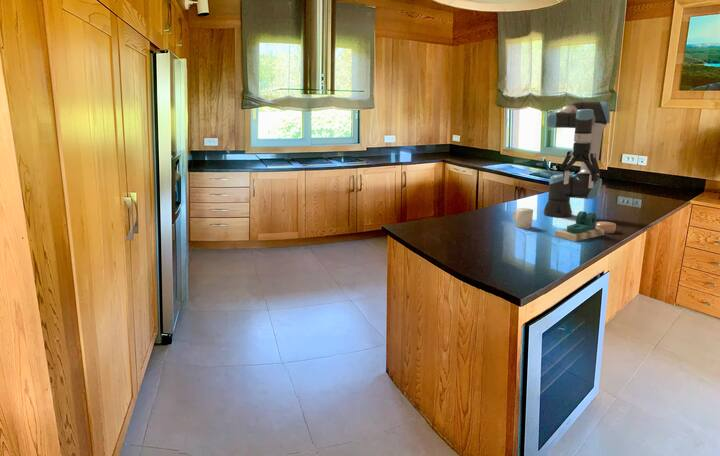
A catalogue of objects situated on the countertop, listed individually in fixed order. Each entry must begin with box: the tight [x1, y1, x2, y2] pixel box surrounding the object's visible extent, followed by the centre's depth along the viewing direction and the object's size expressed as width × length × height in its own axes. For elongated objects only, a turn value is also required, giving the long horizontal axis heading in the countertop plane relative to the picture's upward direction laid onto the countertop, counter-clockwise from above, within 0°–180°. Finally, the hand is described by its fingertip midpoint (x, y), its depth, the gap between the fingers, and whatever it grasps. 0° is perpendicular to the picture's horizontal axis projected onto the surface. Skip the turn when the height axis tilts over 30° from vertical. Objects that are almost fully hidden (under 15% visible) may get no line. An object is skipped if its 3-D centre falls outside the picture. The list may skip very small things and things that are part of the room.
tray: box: [554, 228, 605, 242], centre depth 241 cm, size 22×11×3 cm, turn 121°
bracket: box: [566, 211, 598, 234], centre depth 239 cm, size 18×7×8 cm, turn 131°
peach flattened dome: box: [596, 221, 617, 234], centre depth 249 cm, size 9×9×4 cm
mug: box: [512, 207, 534, 230], centre depth 259 cm, size 8×11×9 cm
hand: (578, 185), depth 246 cm, fingers open, 13 cm apart
